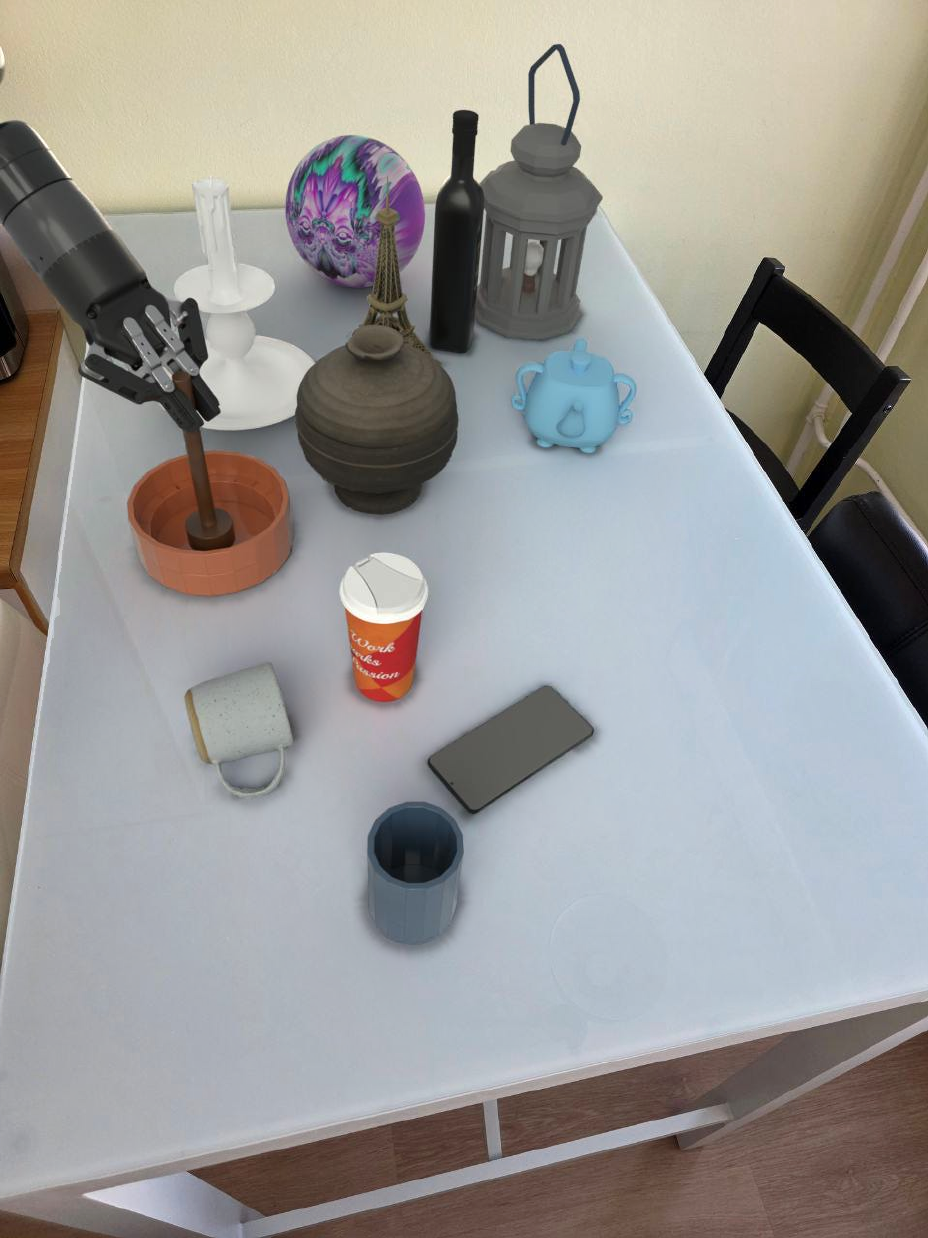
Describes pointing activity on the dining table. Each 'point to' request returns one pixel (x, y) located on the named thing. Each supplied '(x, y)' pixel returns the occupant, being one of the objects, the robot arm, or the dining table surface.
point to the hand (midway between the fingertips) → (205, 422)
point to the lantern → (536, 227)
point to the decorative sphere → (352, 208)
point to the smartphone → (509, 749)
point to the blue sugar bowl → (573, 399)
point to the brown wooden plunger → (202, 488)
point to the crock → (414, 871)
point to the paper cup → (383, 623)
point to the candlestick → (237, 325)
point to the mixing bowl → (235, 488)
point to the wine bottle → (457, 243)
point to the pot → (377, 420)
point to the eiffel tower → (390, 284)
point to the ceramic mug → (240, 721)
